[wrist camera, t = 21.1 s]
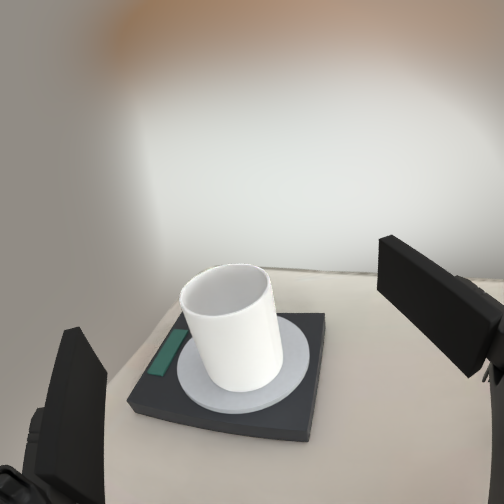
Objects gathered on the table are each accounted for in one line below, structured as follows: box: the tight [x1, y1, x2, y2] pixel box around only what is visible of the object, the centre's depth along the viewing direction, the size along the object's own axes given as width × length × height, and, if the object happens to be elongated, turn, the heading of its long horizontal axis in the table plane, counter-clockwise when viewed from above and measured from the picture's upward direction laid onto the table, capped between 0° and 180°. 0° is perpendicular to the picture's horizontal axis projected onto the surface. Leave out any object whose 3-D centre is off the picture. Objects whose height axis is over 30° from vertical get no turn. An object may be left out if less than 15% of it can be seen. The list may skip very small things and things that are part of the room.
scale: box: [127, 311, 325, 442], centre depth 36 cm, size 20×17×3 cm
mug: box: [179, 263, 283, 392], centre depth 32 cm, size 12×8×10 cm
